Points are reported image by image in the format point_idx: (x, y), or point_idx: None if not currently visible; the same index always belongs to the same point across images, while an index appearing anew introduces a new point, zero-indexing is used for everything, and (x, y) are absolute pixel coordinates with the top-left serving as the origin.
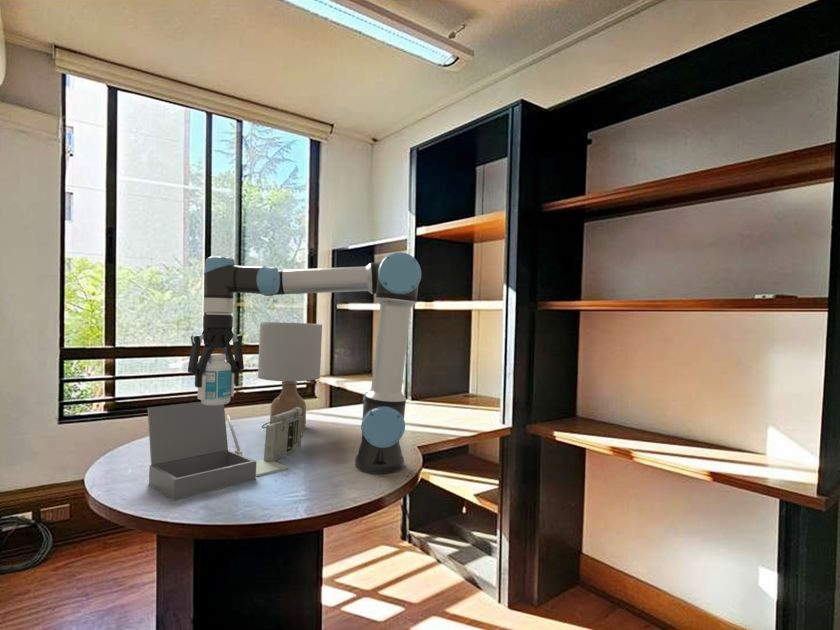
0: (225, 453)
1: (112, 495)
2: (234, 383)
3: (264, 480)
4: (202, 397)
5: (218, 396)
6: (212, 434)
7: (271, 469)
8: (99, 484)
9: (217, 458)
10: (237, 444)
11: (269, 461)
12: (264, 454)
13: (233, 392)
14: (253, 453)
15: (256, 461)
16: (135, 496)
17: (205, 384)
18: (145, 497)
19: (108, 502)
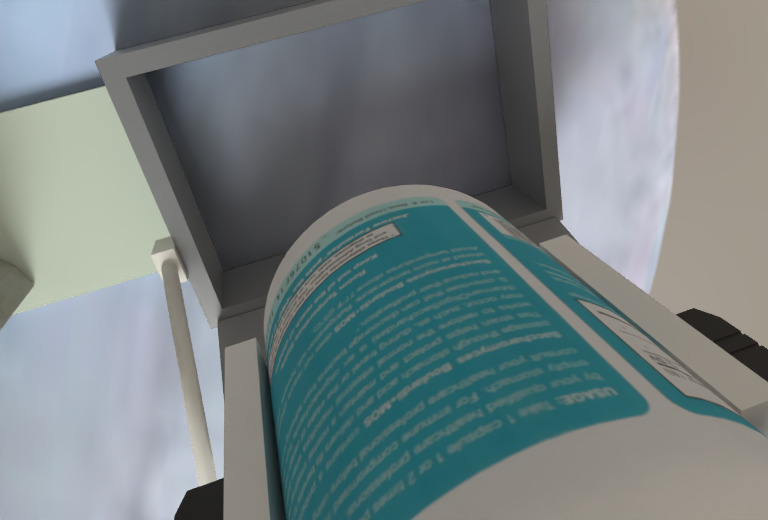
0: (232, 300)
1: (643, 133)
2: (210, 488)
3: (70, 7)
4: (581, 246)
5: (441, 210)
6: None
7: (8, 134)
8: (641, 261)
9: (271, 281)
10: (173, 295)
11: (4, 261)
12: (21, 297)
13: (229, 375)
14: (71, 427)
15: (74, 288)
16: (592, 83)
17: (644, 326)
18: (570, 53)
19: (671, 65)
